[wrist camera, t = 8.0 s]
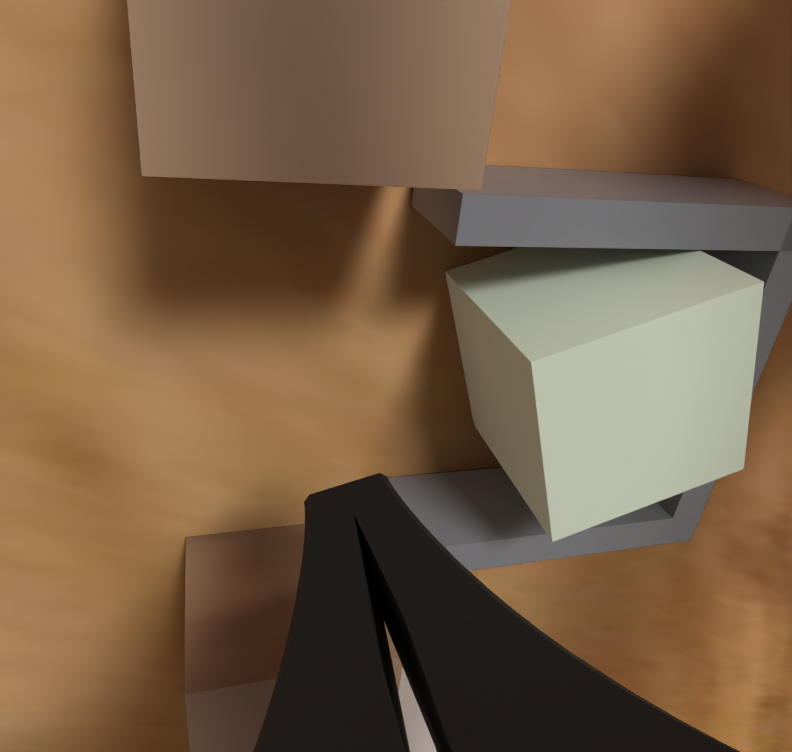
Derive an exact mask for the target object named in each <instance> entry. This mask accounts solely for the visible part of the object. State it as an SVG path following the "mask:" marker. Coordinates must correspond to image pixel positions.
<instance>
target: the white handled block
mask: <svg viewBox="0 0 792 752" xmlns="http://www.w3.org/2000/svg"><path fill="white" fill-rule="evenodd" d="M399 699H400V704H401V709H402V714H403V719H404V724H405V729H406V734H407V739H408V744H409V749H410V752H437V751H436V748H435V745H434V743H433V740H432V738H431V735H430V733H429V730H428V728H427V725H426V723H425V721H424V718H423V716H422V713H421V711H420V708H419V706H418V703H417V701H416V698H415V696H414V694H413V691H412V689H411V686H410V684H409V681H408V679H407V676H406V674H405V671H404V669H403V668H402V674H401V680H400V687H399Z"/></svg>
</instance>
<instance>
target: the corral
mask: <svg viewBox="0 0 792 752" xmlns="http://www.w3.org/2000/svg"><path fill="white" fill-rule="evenodd" d="M411 205H412V206H413V207H414V208H415V209H416V210H417V211H418V212H419V213H420V214H421V215H422V216H423V217H425V218H426V219H427V220H428V221H429V222H430V223H431V224H432V225H433V226H434V227H435V228H437V229H438V230H439V231H440V232H441V233H442V234H443V235H444V236H445V237H446V238H447V239H448V240H450V241H451V242H452V243H453V244H454V245H455V246H500V247H560V248H621V249H682V250H700V251H702V252H704V253H706V254H708V255H710V256H712V257H714V258H716V259H718V260H720V261H723V262H725V263H727V264H729V265H731V266H733V267H735V268H737V269H739V270H741V271H743V272H745V273H747V274H749V275H751V276H753V277H755V278H758V279H760V280H762V281H764V287H763V296H762V305H761V315H760V324H759V333H758V342H757V351H756V361H755V370H754V379H753V388H752V394H753V392H754V390H755V387H756V385H757V383H758V380H759V378H760V376H761V373H762V371H763V368H764V366H765V364H766V361H767V359H768V357H769V354H770V352H771V350H772V347H773V345H774V343H775V340H776V338H777V335H778V333H779V331H780V328H781V326H782V324H783V321H784V319H785V317H786V314H787V312H788V310H789V307H790V305H791V302H792V196H789V195H786V194H783V193H780V192H776V191H773V190H770V189H767V188H764V187H761V186H758V185H755V184H752V183H749V182H746V181H742V180H739V179H730V178H712V177H694V176H676V175H657V174H639V173H621V172H603V171H585V170H567V169H549V168H531V167H513V166H494V165H485V168H484V174H483V180H482V186H481V190H463V189H439V188H415V187H413V195H412V204H411ZM388 479H389V481H390V483H391V484H392V486H393V487H394V489H395V490H396V492H397V493H398V494H399V496H400V497H401V498H402V500H403V501H404V502H405V503H406V505H407V506H408V507H409V508H410V510H411V511H412V512H413V513H414V514H415V516H416V517H417V518H418V519H419V520H420V521H421V523H422V524H423V525H424V526H425V527H426V528H427V529H428V530H429V531H430V532H431V534H432V535H433V536H434V537H435V538H436V539H437V540H438V541H439V542H440V543H441V544H442V545H443V546H444V547H445V548H446V549H447V550H448V551H449V552H450V553H451V554H452V555H453V556H454V557H455V558H456V559H457V560H458V561H459V562H460V563H461V564H462V565H463V566H464V567H465V568H466V569H467V570H468V571H470V570H478V569H485V568H492V567H500V566H507V565H514V564H521V563H529V562H536V561H543V560H551V559H558V558H565V557H573V556H580V555H587V554H594V553H602V552H609V551H616V550H624V549H631V548H638V547H646V546H653V545H660V544H667V543H675V542H682V541H689V540H691V538H692V536H693V533H694V531H695V529H696V526H697V524H698V522H699V519H700V517H701V515H702V512H703V510H704V507H705V505H706V503H707V500H708V498H709V496H710V493H711V491H712V489H713V486H714V484H715V482H716V480H714V481H711V482H708V483H706V484H703V485H701V486H698V487H695V488H693V489H690V490H687V491H685V492H682V493H680V494H677V495H674V496H672V497H669V498H667V499H664V500H661V501H659V502H656V503H653V504H651V505H648V506H646V507H643V508H640V509H638V510H635V511H632V512H630V513H627V514H625V515H622V516H619V517H617V518H614V519H612V520H609V521H606V522H604V523H601V524H598V525H596V526H593V527H591V528H588V529H585V530H583V531H580V532H577V533H575V534H572V535H570V536H567V537H564V538H562V539H559V540H557V541H554V542H552V541H551V539H550V538H549V536H548V535H547V533H546V532H545V530H544V529H543V527H542V526H541V524H540V523H539V521H538V520H537V518H536V517H535V515H534V514H533V512H532V511H531V509H530V508H529V506H528V505H527V503H526V502H525V500H524V499H523V497H522V496H521V494H520V493H519V491H518V490H517V488H516V487H515V485H514V484H513V482H512V481H511V480H510V478H509V477H508V475H507V474H506V472H505V471H504V469H503V468H502V467H500V468H489V469H478V470H467V471H455V472H444V473H433V474H422V475H411V476H400V477H388Z"/></svg>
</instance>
